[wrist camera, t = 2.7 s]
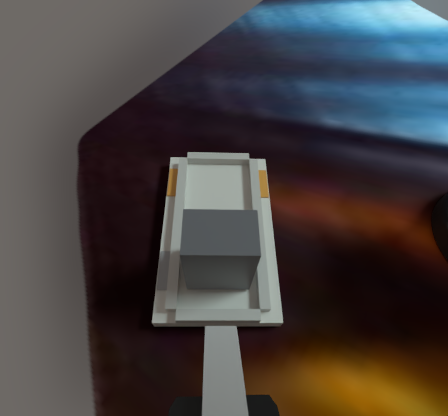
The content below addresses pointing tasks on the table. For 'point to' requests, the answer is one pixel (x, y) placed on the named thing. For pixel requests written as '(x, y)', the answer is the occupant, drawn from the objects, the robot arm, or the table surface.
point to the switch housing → (222, 200)
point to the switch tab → (219, 248)
